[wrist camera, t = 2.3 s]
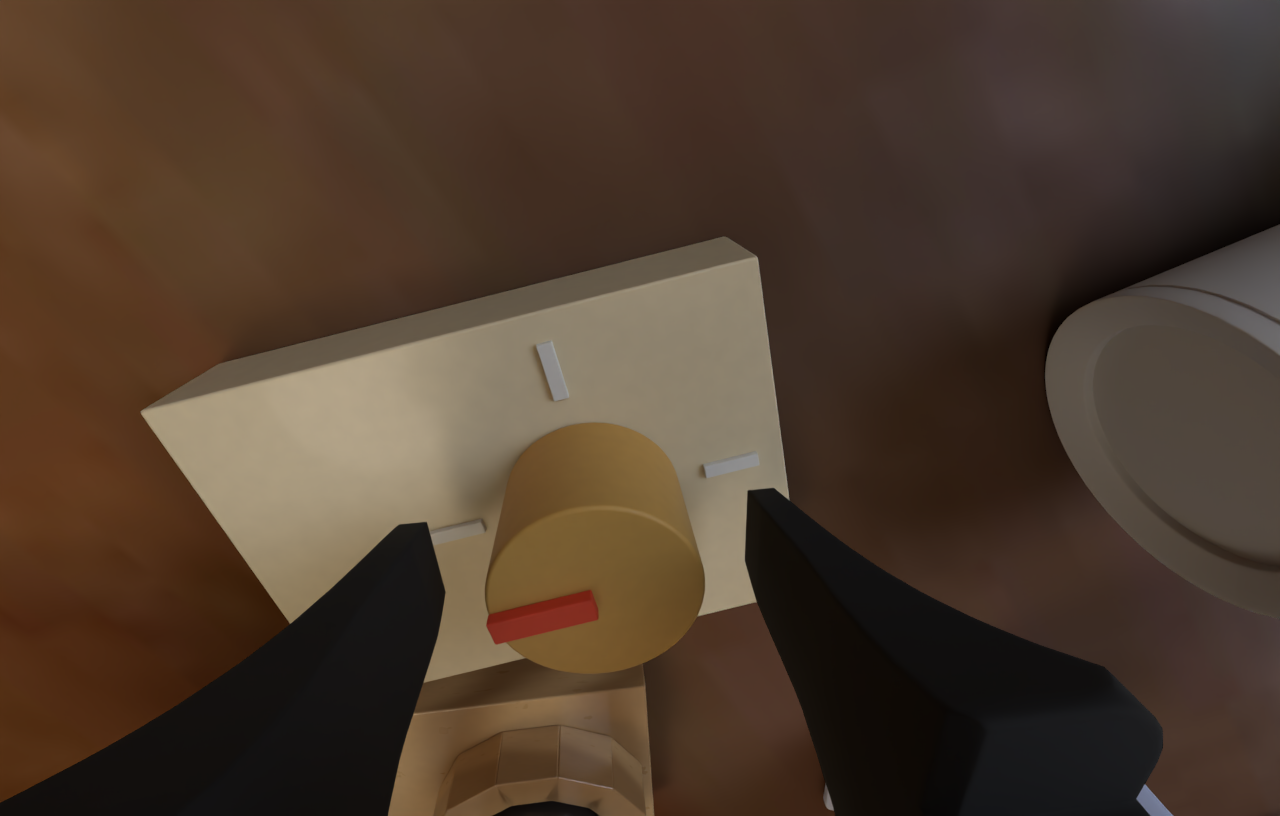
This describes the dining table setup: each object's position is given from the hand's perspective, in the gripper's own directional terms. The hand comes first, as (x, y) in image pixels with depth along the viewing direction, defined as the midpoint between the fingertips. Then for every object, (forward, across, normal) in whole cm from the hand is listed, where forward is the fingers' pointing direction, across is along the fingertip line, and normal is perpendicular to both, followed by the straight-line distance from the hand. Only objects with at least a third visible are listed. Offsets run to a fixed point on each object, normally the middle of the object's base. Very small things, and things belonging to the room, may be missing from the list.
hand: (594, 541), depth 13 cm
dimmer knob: (+2, 0, 0) cm, 2 cm away
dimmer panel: (+5, +2, 0) cm, 5 cm away
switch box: (+5, +5, +13) cm, 15 cm away
